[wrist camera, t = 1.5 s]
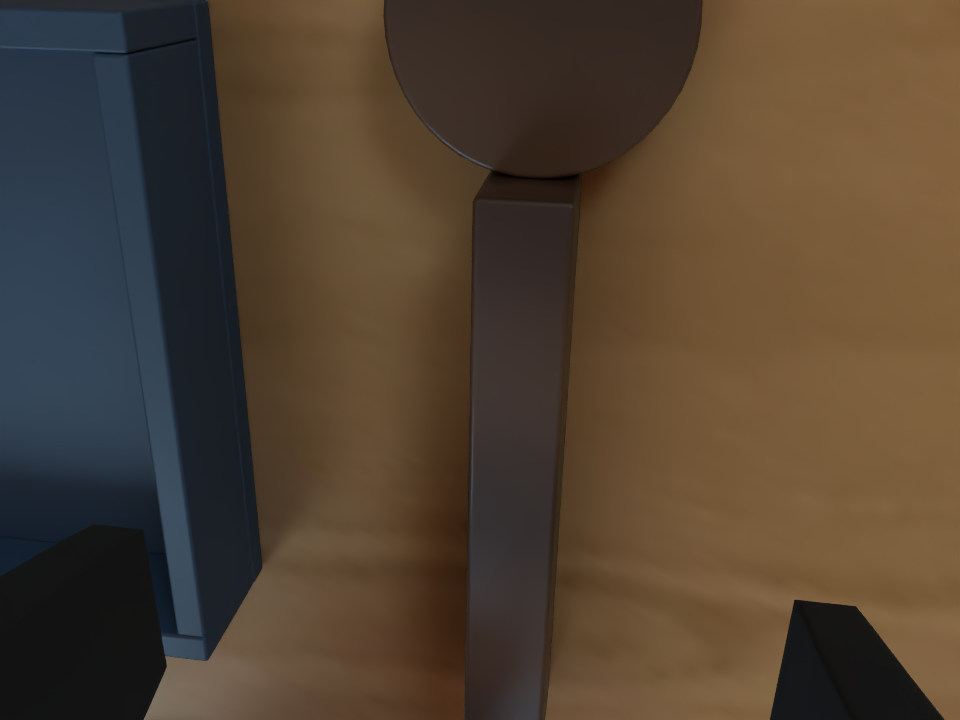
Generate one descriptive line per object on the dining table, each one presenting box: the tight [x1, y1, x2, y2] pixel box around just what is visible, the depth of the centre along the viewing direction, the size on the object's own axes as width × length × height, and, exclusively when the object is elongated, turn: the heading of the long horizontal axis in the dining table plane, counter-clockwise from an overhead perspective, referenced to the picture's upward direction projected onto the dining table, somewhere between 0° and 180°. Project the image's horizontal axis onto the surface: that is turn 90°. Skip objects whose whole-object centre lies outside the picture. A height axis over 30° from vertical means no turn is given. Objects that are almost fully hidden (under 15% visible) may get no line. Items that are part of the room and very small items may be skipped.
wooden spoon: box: [384, 0, 702, 720], centre depth 17 cm, size 17×5×3 cm, turn 179°
